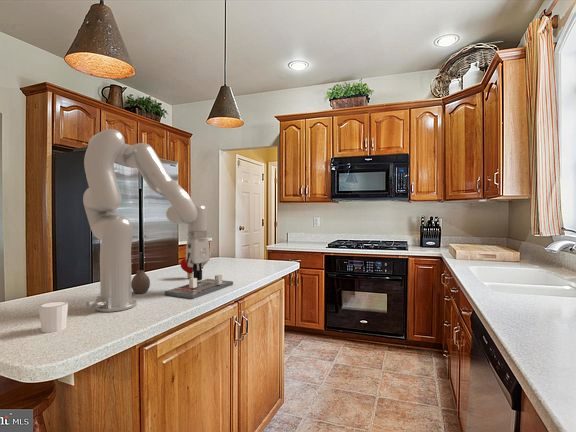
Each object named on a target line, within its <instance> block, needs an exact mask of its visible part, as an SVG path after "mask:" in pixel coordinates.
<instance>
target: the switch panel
mask: <svg viewBox="0 0 576 432" xmlns="http://www.w3.org/2000/svg"><path fill="white" fill-rule="evenodd" d="M233 285H234V281H232V280H223V275H222V274H216V275H214V278H213V279H212V278H206V279H202V280H197V287H195V288H189V283H188V284H186V285H182V286H178V287H175V288H171V289H167V290H165V291H164V296H170V297H175V298H183V299H192V300H193V299H197V298H199V297H203V296H205V295H208V294H211V293H215V292H217V291H219V290H223V289H225V288H228V287H231V286H233Z"/></svg>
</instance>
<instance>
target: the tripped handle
mask: <svg viewBox="0 0 576 432" xmlns="http://www.w3.org/2000/svg"><path fill="white" fill-rule="evenodd" d="M188 280H189V281H188V284H189V288H195V287H197V278H193V277H192V278H188Z"/></svg>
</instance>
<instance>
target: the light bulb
mask: <svg viewBox="0 0 576 432" xmlns="http://www.w3.org/2000/svg"><path fill="white" fill-rule="evenodd" d="M180 268H181V269H182V270H183V271H184V272H186V273H187V278H188V279H190V278H193V270H192V268H191V267H188V263H187V262H186V257H184V258H183V259H181V261H180Z"/></svg>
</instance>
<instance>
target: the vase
mask: <svg viewBox="0 0 576 432" xmlns="http://www.w3.org/2000/svg"><path fill="white" fill-rule="evenodd" d="M131 283H132V291H133V292H134V293H135V294H137V295H138V294H139V295H140V294H142V295H143V294H146V293H147V292H148V291H149V289H150V287H151V281H150V277H149V276H148V275H147V273H146V271H144V270H142V269H141V270H137V271H136V273H135V275H134V276H133V277H132V278H131Z"/></svg>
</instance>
